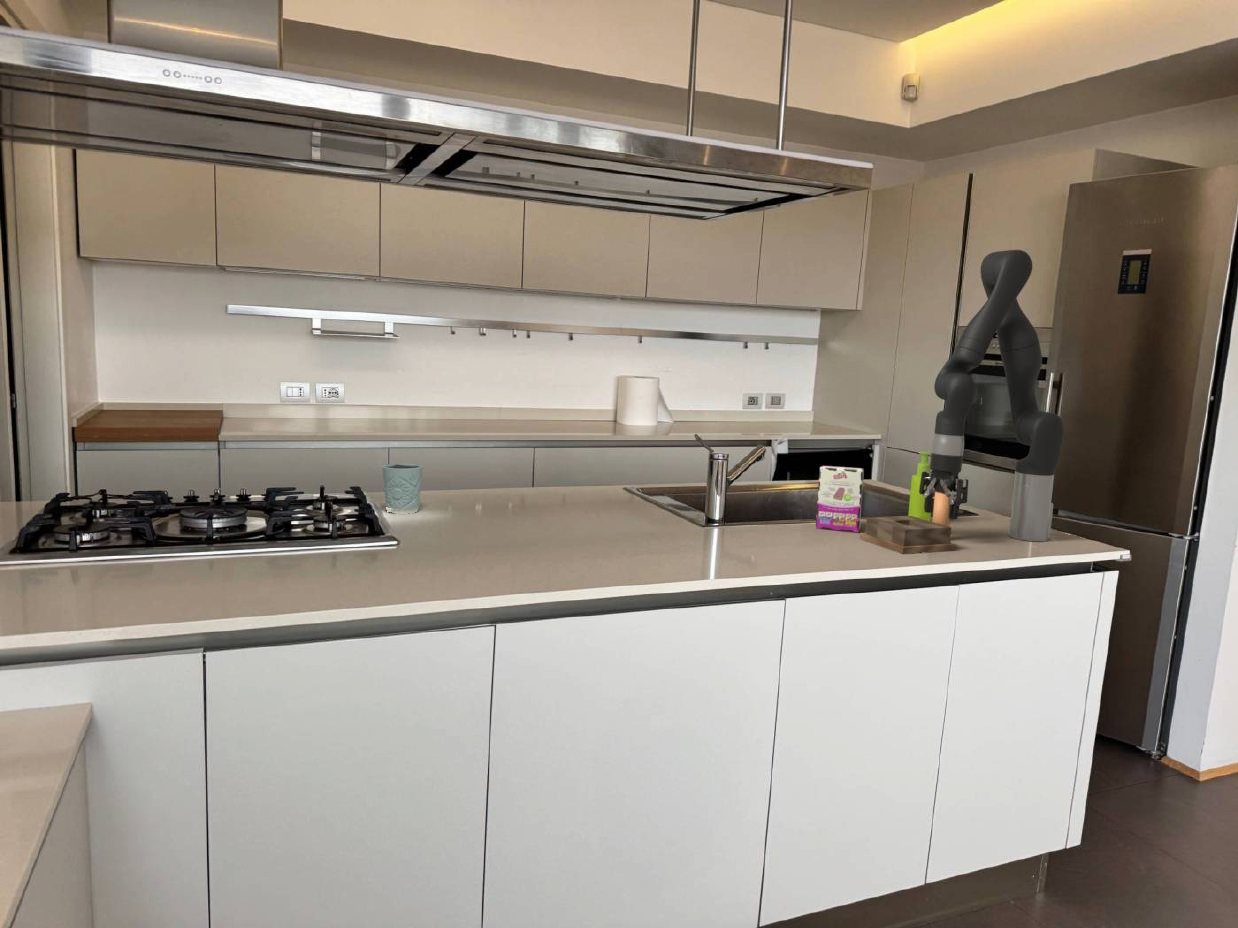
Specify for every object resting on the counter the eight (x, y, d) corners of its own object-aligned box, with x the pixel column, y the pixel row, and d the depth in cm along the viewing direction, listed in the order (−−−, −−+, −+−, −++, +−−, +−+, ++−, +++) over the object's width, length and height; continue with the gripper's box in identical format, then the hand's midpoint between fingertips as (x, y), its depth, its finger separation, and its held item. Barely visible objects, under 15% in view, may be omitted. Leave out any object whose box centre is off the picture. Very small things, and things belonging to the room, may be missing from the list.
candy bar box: (860, 529, 233) (865, 468, 231) (858, 533, 228) (863, 470, 226) (816, 525, 237) (821, 464, 234) (814, 528, 232) (819, 466, 230)
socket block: (909, 535, 228) (911, 514, 227) (955, 550, 213) (957, 528, 212) (859, 538, 221) (861, 517, 221) (902, 553, 207) (904, 531, 206)
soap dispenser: (935, 526, 242) (942, 453, 239) (909, 524, 243) (915, 452, 240) (932, 522, 247) (938, 451, 245) (906, 520, 249) (912, 449, 246)
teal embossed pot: (393, 516, 224) (394, 469, 222) (375, 509, 231) (375, 464, 230) (429, 512, 231) (429, 467, 229) (409, 506, 238) (410, 461, 237)
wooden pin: (939, 537, 228) (943, 491, 226) (950, 540, 224) (955, 494, 222) (927, 537, 226) (931, 491, 224) (938, 541, 222) (943, 494, 221)
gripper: (980, 456, 217) (972, 521, 219) (938, 448, 230) (931, 510, 232) (956, 456, 214) (949, 521, 216) (915, 448, 227) (909, 510, 229)
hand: (940, 515), depth 224 cm, fingers open, 8 cm apart
